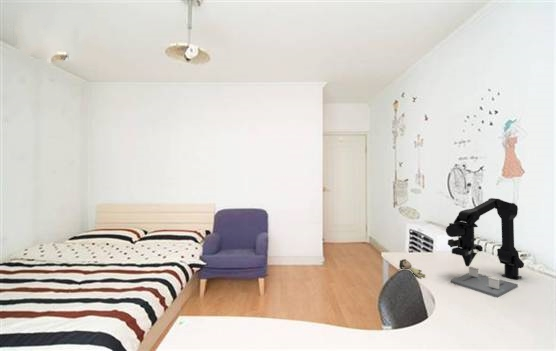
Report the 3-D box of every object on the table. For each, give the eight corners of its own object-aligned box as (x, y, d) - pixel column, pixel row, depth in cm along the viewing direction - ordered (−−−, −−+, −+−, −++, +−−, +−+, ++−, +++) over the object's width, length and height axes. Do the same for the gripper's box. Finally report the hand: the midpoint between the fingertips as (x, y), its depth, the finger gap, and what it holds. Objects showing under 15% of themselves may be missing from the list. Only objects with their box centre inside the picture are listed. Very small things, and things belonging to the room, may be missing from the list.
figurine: (418, 272, 144) (396, 258, 157) (416, 283, 145) (394, 268, 159) (429, 270, 147) (406, 256, 160) (427, 281, 148) (405, 267, 162)
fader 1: (470, 274, 146) (470, 266, 146) (479, 276, 143) (478, 268, 143) (468, 275, 145) (468, 267, 145) (477, 277, 142) (477, 269, 142)
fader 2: (489, 285, 132) (489, 276, 132) (499, 288, 129) (499, 279, 128) (487, 286, 131) (487, 277, 131) (498, 289, 128) (497, 280, 127)
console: (472, 274, 151) (472, 270, 151) (517, 286, 134) (517, 283, 134) (450, 282, 140) (450, 278, 140) (497, 297, 123) (497, 293, 123)
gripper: (459, 231, 153) (460, 259, 153) (441, 235, 143) (441, 265, 143) (483, 234, 143) (483, 264, 143) (464, 239, 133) (464, 271, 134)
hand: (467, 266), depth 141 cm, fingers closed
